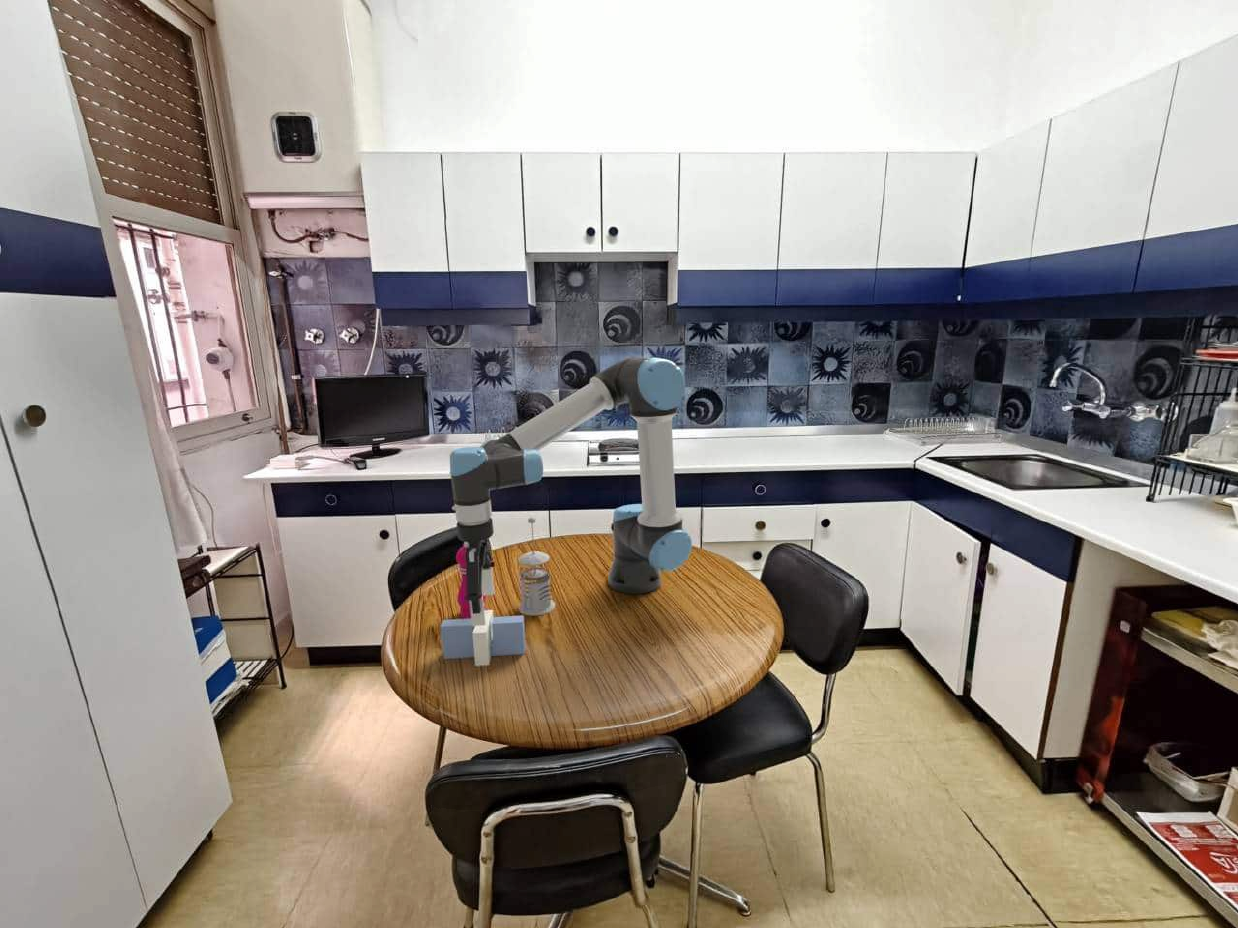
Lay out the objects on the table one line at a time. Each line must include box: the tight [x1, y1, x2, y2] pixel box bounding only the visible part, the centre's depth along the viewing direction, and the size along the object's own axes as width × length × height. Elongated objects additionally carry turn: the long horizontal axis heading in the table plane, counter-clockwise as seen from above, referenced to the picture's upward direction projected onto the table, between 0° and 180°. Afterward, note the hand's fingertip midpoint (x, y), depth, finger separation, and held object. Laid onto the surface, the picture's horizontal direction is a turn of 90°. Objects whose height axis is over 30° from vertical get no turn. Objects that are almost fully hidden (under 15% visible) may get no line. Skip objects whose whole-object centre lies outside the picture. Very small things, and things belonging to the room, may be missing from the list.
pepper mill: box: [455, 541, 487, 619], centre depth 140 cm, size 7×7×20 cm
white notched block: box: [472, 609, 494, 667], centre depth 123 cm, size 10×3×8 cm, turn 5°
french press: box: [517, 516, 556, 616], centre depth 142 cm, size 10×12×25 cm
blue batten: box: [440, 614, 527, 660], centre depth 123 cm, size 18×3×8 cm, turn 95°
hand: (483, 608), depth 122 cm, fingers open, 13 cm apart
